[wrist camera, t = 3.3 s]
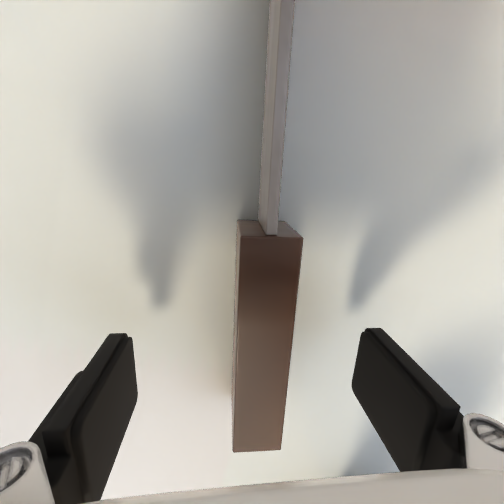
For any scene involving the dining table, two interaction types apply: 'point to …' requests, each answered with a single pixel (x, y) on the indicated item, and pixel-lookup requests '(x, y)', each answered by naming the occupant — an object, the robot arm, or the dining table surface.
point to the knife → (266, 269)
